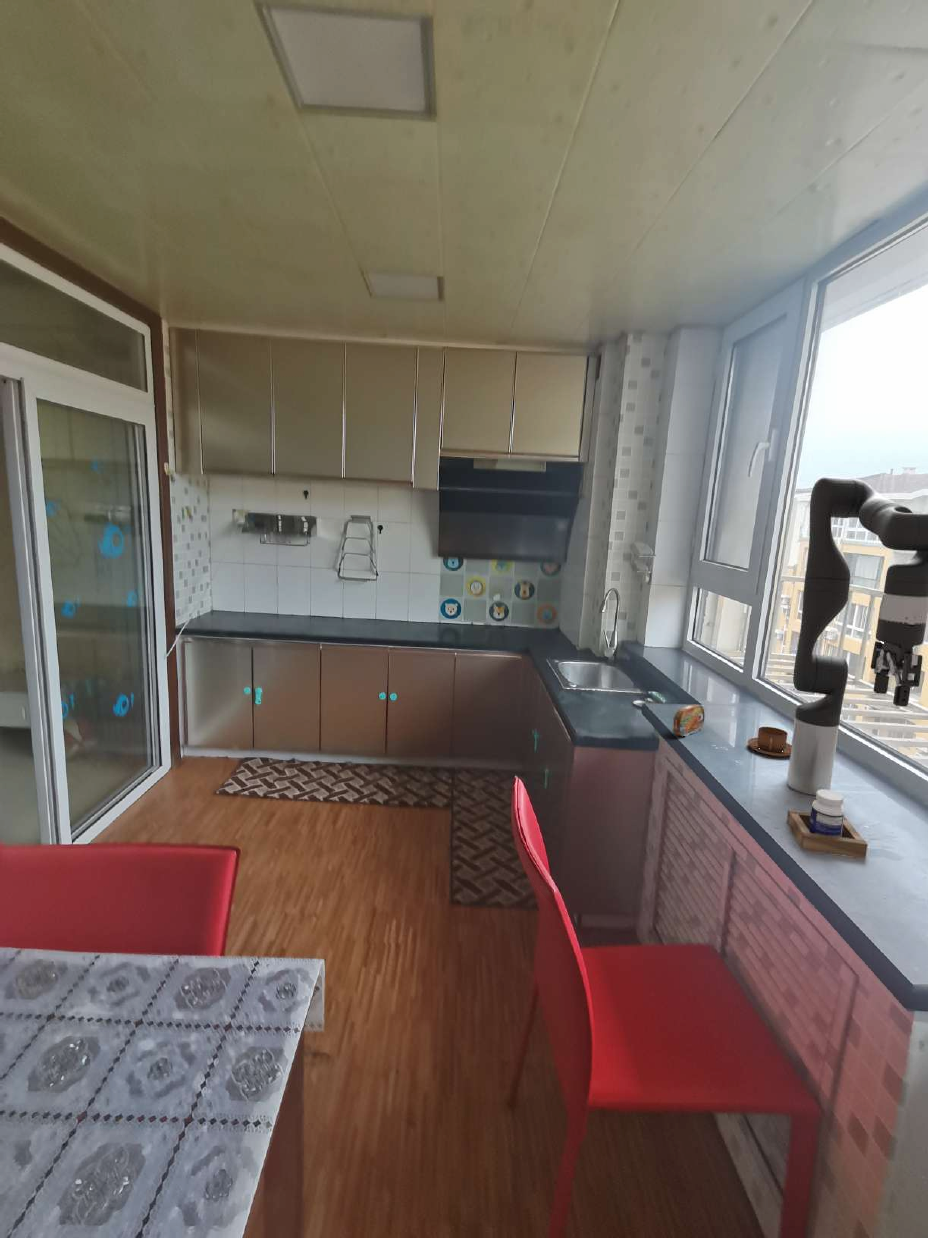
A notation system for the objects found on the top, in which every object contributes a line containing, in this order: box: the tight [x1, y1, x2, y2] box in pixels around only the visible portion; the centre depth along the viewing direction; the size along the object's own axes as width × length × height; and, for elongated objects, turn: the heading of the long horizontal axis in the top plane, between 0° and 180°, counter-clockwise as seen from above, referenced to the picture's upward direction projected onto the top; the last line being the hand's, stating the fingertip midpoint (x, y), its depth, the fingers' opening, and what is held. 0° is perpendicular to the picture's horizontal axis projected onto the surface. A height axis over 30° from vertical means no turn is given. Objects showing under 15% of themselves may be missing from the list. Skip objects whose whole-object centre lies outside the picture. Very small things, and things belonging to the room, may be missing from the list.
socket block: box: [786, 809, 869, 860], centre depth 121 cm, size 11×11×3 cm
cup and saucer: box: [747, 726, 792, 757], centre depth 168 cm, size 12×12×6 cm
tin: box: [673, 704, 705, 737], centre depth 181 cm, size 15×3×8 cm, turn 131°
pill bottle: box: [808, 789, 845, 837], centre depth 120 cm, size 6×6×10 cm
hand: (889, 699), depth 116 cm, fingers open, 8 cm apart
